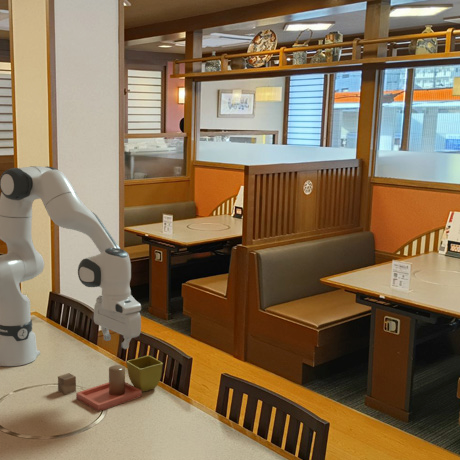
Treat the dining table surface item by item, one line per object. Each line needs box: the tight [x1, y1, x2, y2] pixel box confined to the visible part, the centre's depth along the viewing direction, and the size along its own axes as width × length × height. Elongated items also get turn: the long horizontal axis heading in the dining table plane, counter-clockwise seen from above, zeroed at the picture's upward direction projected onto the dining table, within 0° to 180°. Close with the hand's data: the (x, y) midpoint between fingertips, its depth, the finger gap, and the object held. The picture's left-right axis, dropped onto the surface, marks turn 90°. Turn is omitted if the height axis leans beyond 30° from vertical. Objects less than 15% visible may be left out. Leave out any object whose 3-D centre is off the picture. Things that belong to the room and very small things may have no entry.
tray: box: [75, 381, 143, 413], centre depth 191 cm, size 12×16×2 cm
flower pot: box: [126, 355, 164, 393], centre depth 199 cm, size 9×9×9 cm
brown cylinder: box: [108, 364, 126, 396], centre depth 193 cm, size 5×5×8 cm
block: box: [57, 372, 77, 396], centre depth 195 cm, size 4×4×5 cm
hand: (116, 344), depth 191 cm, fingers open, 8 cm apart
